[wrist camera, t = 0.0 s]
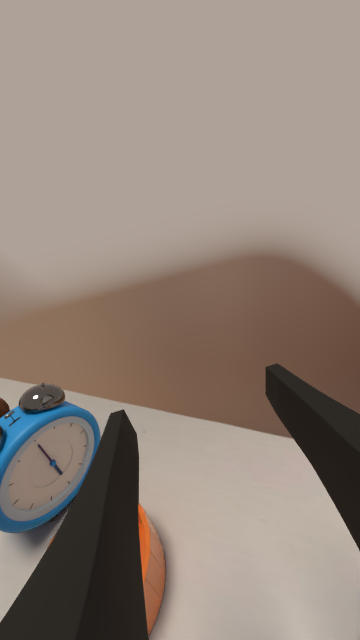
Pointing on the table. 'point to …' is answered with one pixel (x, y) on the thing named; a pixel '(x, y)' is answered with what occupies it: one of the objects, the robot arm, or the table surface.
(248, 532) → the table surface
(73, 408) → the alarm clock
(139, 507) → the cup
